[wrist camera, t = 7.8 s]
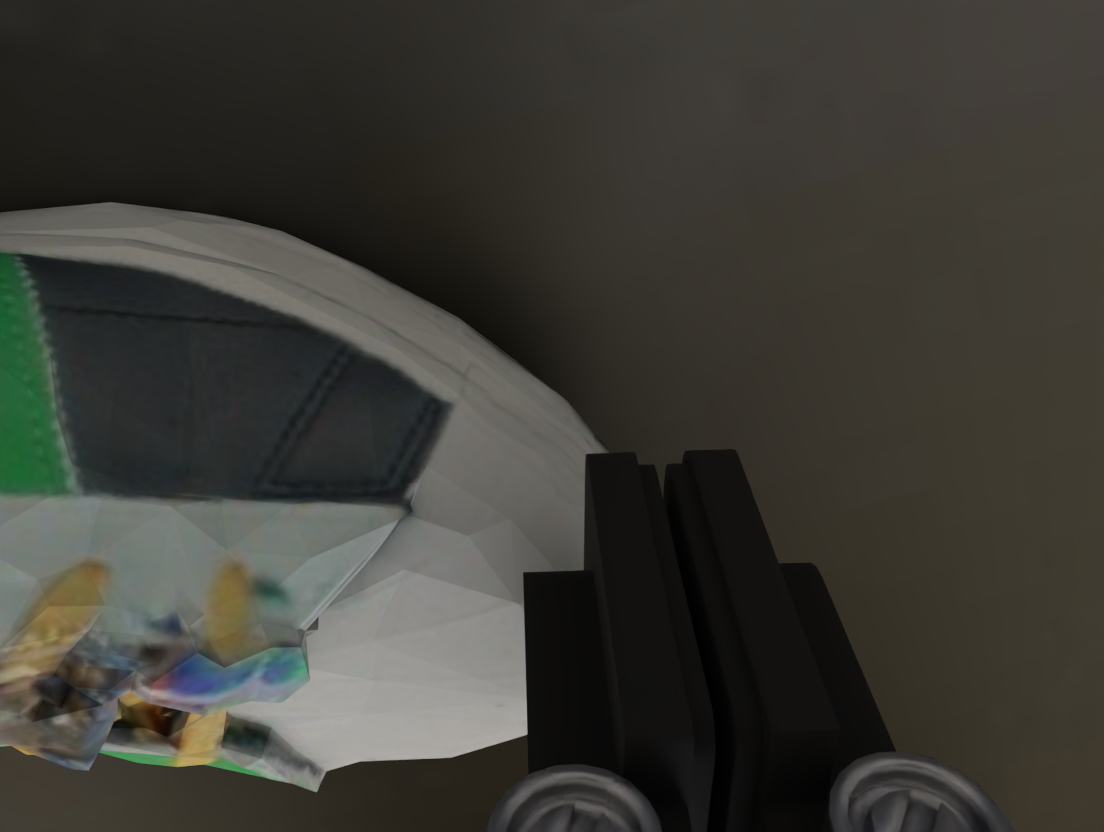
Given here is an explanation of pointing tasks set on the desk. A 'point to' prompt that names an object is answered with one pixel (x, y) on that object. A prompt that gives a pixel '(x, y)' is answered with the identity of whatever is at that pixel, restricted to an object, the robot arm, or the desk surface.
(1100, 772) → the desk surface
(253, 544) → the sneaker
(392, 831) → the desk surface
